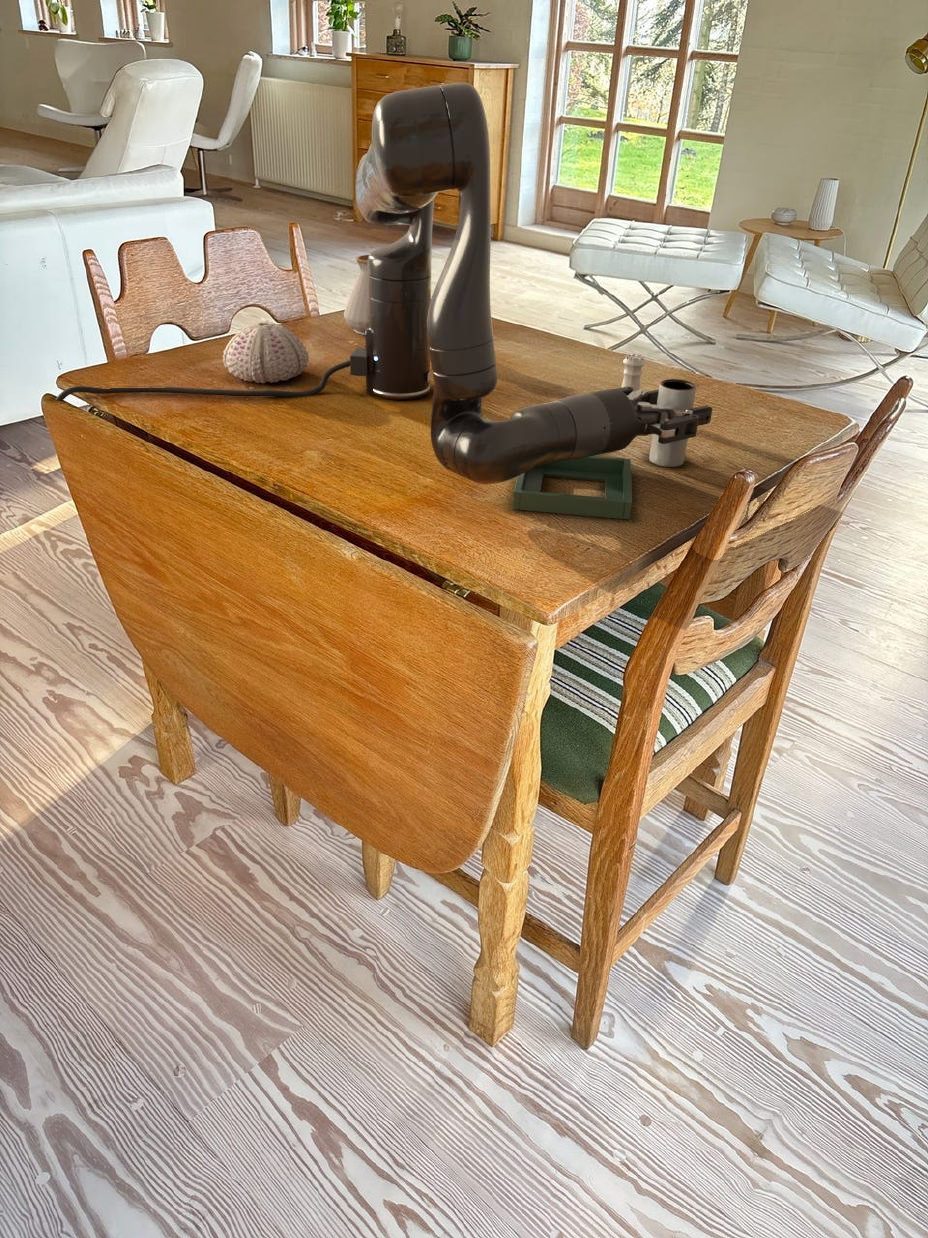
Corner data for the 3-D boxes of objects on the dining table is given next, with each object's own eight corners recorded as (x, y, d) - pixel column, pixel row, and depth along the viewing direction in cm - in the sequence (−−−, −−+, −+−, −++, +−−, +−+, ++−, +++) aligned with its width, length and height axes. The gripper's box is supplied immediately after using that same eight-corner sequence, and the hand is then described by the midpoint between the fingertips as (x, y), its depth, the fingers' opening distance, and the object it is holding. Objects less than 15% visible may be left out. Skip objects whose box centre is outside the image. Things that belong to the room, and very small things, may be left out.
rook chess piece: (642, 414, 142) (649, 361, 137) (612, 411, 142) (618, 358, 138) (643, 405, 145) (650, 352, 141) (614, 402, 146) (620, 350, 142)
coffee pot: (333, 326, 178) (330, 241, 171) (387, 320, 184) (386, 237, 176) (389, 356, 163) (389, 264, 156) (446, 347, 169) (448, 258, 161)
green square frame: (512, 509, 111) (513, 492, 110) (522, 465, 123) (523, 449, 122) (629, 519, 110) (632, 502, 109) (628, 474, 122) (630, 458, 120)
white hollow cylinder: (645, 454, 128) (656, 378, 123) (678, 454, 128) (690, 378, 123) (653, 467, 124) (665, 389, 119) (687, 467, 124) (700, 389, 119)
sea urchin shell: (241, 392, 144) (236, 338, 140) (213, 368, 154) (208, 317, 150) (323, 381, 150) (320, 329, 146) (290, 358, 160) (287, 309, 156)
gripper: (630, 412, 109) (734, 392, 117) (555, 378, 119) (654, 361, 127) (623, 474, 113) (723, 450, 121) (550, 435, 123) (647, 416, 131)
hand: (688, 405), depth 124 cm, fingers open, 7 cm apart
